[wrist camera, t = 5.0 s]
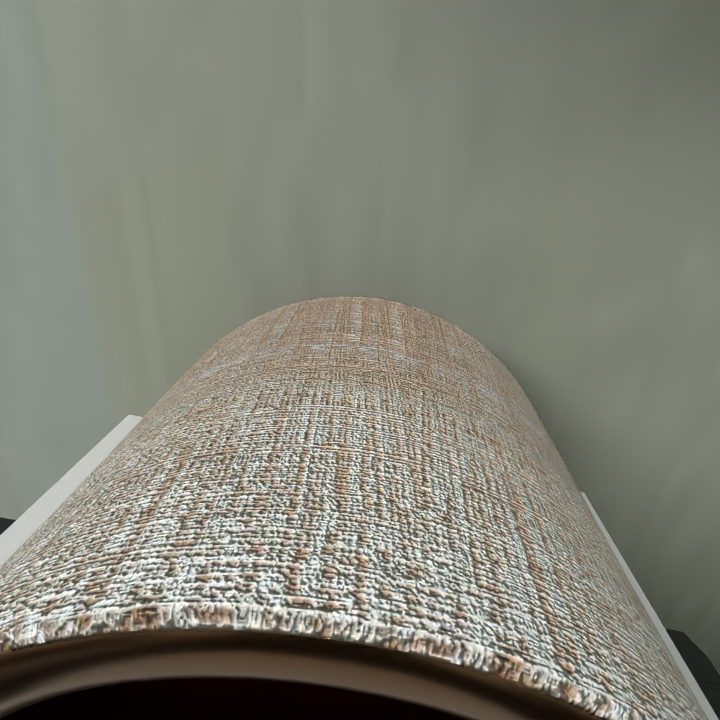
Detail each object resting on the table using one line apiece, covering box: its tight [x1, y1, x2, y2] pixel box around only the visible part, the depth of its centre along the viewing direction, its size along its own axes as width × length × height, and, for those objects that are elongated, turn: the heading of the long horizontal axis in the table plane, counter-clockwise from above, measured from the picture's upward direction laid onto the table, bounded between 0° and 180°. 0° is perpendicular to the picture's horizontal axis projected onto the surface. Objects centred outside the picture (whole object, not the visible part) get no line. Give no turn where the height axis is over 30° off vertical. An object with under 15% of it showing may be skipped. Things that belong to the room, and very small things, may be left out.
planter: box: [0, 296, 709, 720], centre depth 10 cm, size 11×11×10 cm
